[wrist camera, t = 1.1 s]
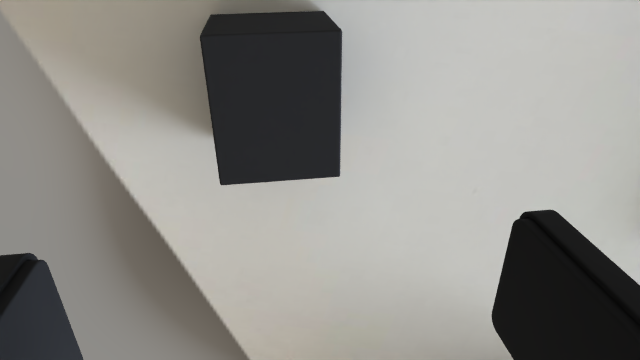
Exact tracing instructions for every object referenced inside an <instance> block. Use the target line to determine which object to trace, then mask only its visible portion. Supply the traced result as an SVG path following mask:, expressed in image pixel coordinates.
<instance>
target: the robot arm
mask: <svg viewBox="0 0 640 360" xmlns="http://www.w3.org/2000/svg"><path fill="white" fill-rule="evenodd" d="M492 322H493V325H494V328H495V330H496V332H497V333H498V335H499V337H500V338H501V340H502V341H503V343H504V345H505V346H506V348H507V350H508V351H509V353H510V354H511V356H512V358H513V359H514V360H640V285H639V284H637V283H636V282H635V281H634V280H633V279H632V278H631V277H630V276H628V275H627V274H626V273H625V272H624V271H623V270H622V269H620V268H619V267H618V266H617V265H616V264H615V263H614V262H613V261H611V260H610V259H609V258H608V257H607V256H606V255H605V254H604V253H602V252H601V251H600V250H599V249H598V248H597V247H596V246H595V245H593V244H592V243H591V242H590V241H589V240H588V239H587V238H586V237H584V236H583V235H582V234H581V233H580V232H579V231H578V230H577V229H575V228H574V227H573V226H572V225H571V224H570V223H569V222H568V221H566V220H565V219H564V218H563V217H562V216H561V215H560V214H559V213H557V212H556V211H554V210H541V211H529V212H524V213H523V214H522V215H521V216H520V219H517V220H515V222H514V223H513V226H512V230H511V234H510V238H509V242H508V247H507V251H506V255H505V259H504V264H503V268H502V272H501V276H500V281H499V285H498V289H497V293H496V298H495V302H494V306H493V310H492ZM0 360H83V357H82V354H81V352H80V349H79V346H78V344H77V341H76V338H75V336H74V333H73V330H72V328H71V325H70V322H69V320H68V317H67V315H66V312H65V309H64V307H63V304H62V301H61V299H60V296H59V293H58V291H57V288H56V286H55V283H54V280H53V278H52V275H51V272H50V270H49V267H48V265H47V263H46V262H45V261H44V260H38V259H37V257H36V256H35V255H34V254H31V253H25V254H13V255H1V256H0Z"/></svg>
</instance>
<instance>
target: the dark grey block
mask: <svg viewBox="0 0 640 360" xmlns="http://www.w3.org/2000/svg"><path fill="white" fill-rule="evenodd" d="M200 41H201V48H202V56H203V63H204V70H205V77H206V85H207V92H208V99H209V106H210V114H211V121H212V128H213V135H214V143H215V150H216V157H217V164H218V172H219V179H220V184H221V185H231V184H245V183H258V182H272V181H285V180H299V179H313V178H326V177H339V176H340V142H341V69H342V30H341V29H340V28H339V27H338V26H337V25H336V24H335V23H334V22H333V21H332V19H331V18H330V17H329V16H328V15H327V14H326V13H325V12H324V11H312V12H280V13H248V14H217V15H210V17H209V19H208V21H207V23H206V25H205V27H204V29H203V31H202V33H201V35H200Z"/></svg>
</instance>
